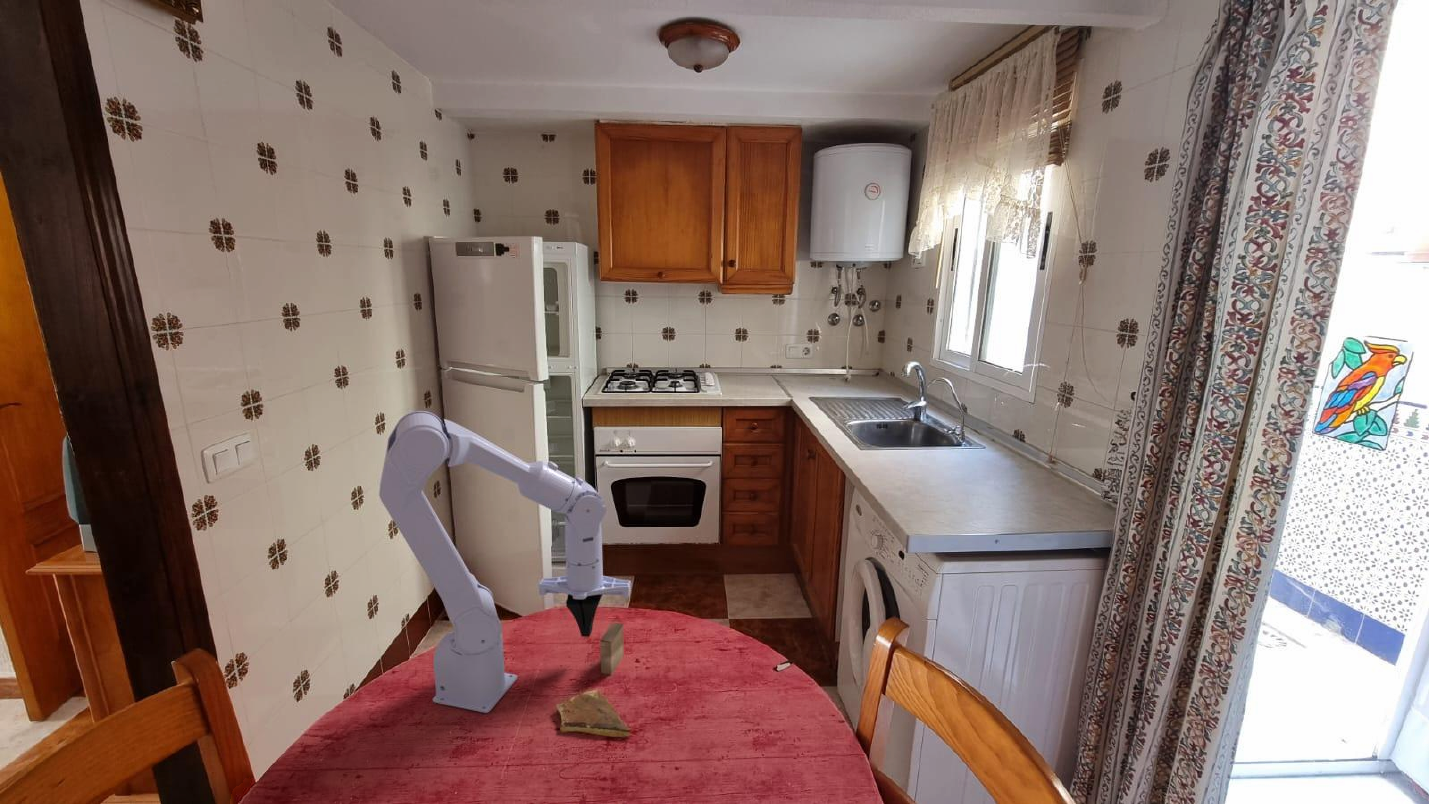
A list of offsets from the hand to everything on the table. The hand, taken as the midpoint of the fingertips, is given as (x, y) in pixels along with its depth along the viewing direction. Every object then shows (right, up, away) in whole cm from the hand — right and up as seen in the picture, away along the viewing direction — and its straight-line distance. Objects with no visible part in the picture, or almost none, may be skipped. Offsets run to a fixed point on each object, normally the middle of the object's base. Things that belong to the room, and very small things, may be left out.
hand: (586, 633), depth 94 cm
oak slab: (+4, -5, 0) cm, 7 cm away
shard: (+4, -8, -11) cm, 14 cm away
